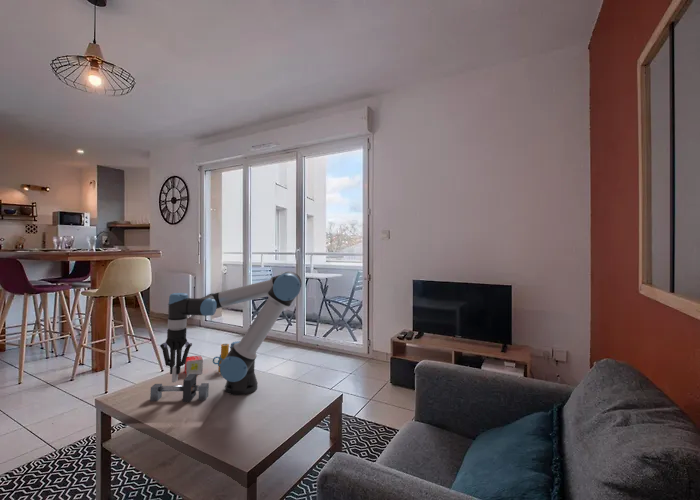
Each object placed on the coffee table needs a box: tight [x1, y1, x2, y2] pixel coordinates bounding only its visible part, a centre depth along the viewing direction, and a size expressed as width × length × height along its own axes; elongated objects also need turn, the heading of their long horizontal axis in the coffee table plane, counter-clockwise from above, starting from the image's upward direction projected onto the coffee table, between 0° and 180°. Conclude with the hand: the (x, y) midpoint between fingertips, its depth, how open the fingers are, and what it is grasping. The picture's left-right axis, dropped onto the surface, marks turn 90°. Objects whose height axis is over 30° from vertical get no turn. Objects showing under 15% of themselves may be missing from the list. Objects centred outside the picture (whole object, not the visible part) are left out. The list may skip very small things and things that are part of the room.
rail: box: [149, 382, 210, 402], centre depth 146 cm, size 23×7×7 cm, turn 97°
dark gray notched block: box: [182, 374, 198, 403], centre depth 146 cm, size 3×8×10 cm, turn 7°
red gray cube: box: [184, 354, 204, 377], centre depth 180 cm, size 8×8×8 cm
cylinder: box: [212, 343, 230, 374], centre depth 183 cm, size 12×10×15 cm
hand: (174, 381), depth 146 cm, fingers closed
